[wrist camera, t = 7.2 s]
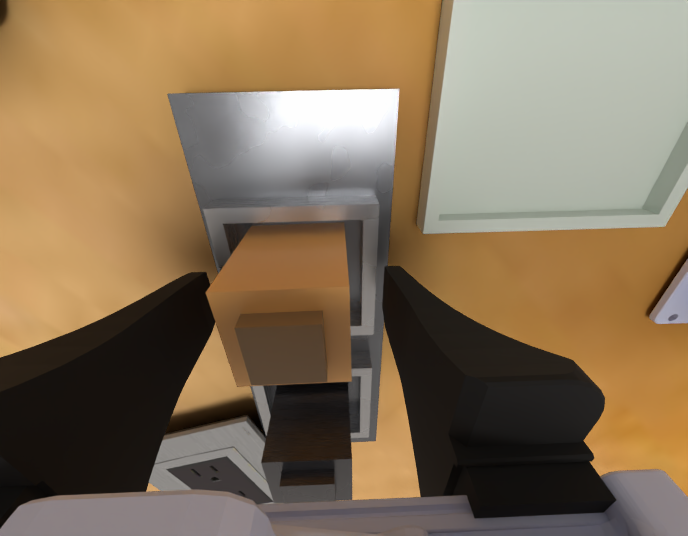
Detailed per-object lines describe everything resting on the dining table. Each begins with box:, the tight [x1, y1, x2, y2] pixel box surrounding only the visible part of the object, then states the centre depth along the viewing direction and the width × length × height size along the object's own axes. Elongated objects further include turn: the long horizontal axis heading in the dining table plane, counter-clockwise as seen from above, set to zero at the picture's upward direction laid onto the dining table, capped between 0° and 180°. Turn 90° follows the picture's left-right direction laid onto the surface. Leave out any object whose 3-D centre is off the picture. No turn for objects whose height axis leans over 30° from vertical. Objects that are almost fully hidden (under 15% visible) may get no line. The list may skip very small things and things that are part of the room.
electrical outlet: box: [149, 415, 279, 504], centre depth 23 cm, size 13×10×2 cm
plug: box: [206, 222, 352, 387], centre depth 11 cm, size 4×4×6 cm
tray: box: [416, 0, 688, 234], centre depth 11 cm, size 11×9×1 cm
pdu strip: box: [167, 89, 399, 503], centre depth 13 cm, size 22×8×7 cm, turn 1°
